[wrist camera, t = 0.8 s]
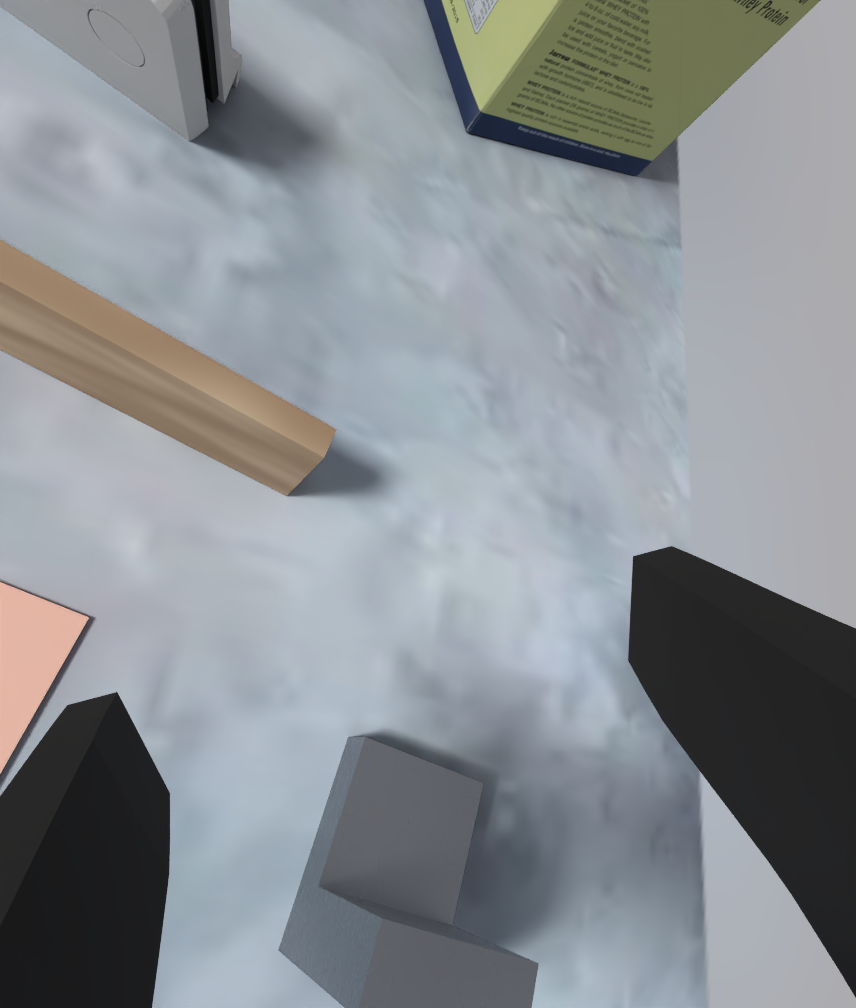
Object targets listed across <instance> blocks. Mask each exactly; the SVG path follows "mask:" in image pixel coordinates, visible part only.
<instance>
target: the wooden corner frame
mask: <svg viewBox="0 0 856 1008" xmlns="http://www.w3.org/2000/svg"><path fill="white" fill-rule="evenodd" d="M0 350H2V351H4V352H6V353H8V354H9V355H11V356H13V357H15V358H17V359H19V360H21V361H23V362H25V363H27V364H29V365H31V366H33V367H35V368H37V369H39V370H41V371H43V372H45V373H47V374H49V375H51V376H53V377H55V378H57V379H58V380H60V381H62V382H64V383H66V384H68V385H70V386H72V387H74V388H76V389H78V390H80V391H82V392H84V393H86V394H88V395H90V396H92V397H94V398H96V399H98V400H100V401H102V402H104V403H105V404H107V405H109V406H111V407H113V408H115V409H117V410H119V411H121V412H123V413H125V414H127V415H129V416H131V417H133V418H135V419H137V420H139V421H141V422H143V423H145V424H147V425H149V426H151V427H152V428H154V429H156V430H158V431H160V432H162V433H164V434H166V435H168V436H170V437H172V438H174V439H176V440H178V441H180V442H182V443H184V444H186V445H188V446H190V447H192V448H194V449H196V450H198V451H200V452H201V453H203V454H205V455H207V456H209V457H211V458H213V459H215V460H217V461H219V462H221V463H223V464H225V465H227V466H229V467H231V468H233V469H235V470H237V471H239V472H241V473H243V474H245V475H247V476H248V477H250V478H252V479H254V480H256V481H258V482H260V483H262V484H264V485H266V486H268V487H270V488H272V489H274V490H276V491H278V492H280V493H282V494H284V495H286V496H287V495H288V494H289V493H290V492H291V491H292V490H293V489H294V488H295V487H296V486H297V485H298V484H299V483H300V482H301V481H302V480H303V479H304V478H305V477H306V476H307V475H308V474H309V473H310V472H311V471H312V470H313V469H314V468H315V467H316V466H317V465H318V464H319V463H320V462H321V461H322V460H323V459H324V457H325V455H326V453H327V450H328V448H329V446H330V443H331V441H332V439H333V437H334V434H335V432H336V430H337V429H335V428H333V427H331V426H330V425H328V424H326V423H324V422H322V421H321V420H319V419H317V418H315V417H314V416H312V415H310V414H308V413H307V412H305V411H303V410H301V409H299V408H298V407H296V406H294V405H292V404H291V403H289V402H287V401H285V400H283V399H282V398H280V397H278V396H276V395H275V394H273V393H271V392H269V391H268V390H266V389H264V388H262V387H260V386H259V385H257V384H255V383H253V382H252V381H250V380H248V379H246V378H244V377H243V376H241V375H239V374H237V373H236V372H234V371H232V370H230V369H229V368H227V367H225V366H223V365H221V364H220V363H218V362H216V361H214V360H213V359H211V358H209V357H207V356H205V355H204V354H202V353H200V352H198V351H197V350H195V349H193V348H191V347H190V346H188V345H186V344H184V343H182V342H181V341H179V340H177V339H175V338H174V337H172V336H170V335H168V334H166V333H165V332H163V331H161V330H159V329H158V328H156V327H154V326H152V325H151V324H149V323H147V322H145V321H143V320H142V319H140V318H138V317H136V316H135V315H133V314H131V313H129V312H127V311H126V310H124V309H122V308H120V307H119V306H117V305H115V304H113V303H112V302H110V301H108V300H106V299H104V298H103V297H101V296H99V295H97V294H96V293H94V292H92V291H90V290H88V289H87V288H85V287H83V286H81V285H80V284H78V283H76V282H74V281H73V280H71V279H69V278H67V277H65V276H64V275H62V274H60V273H58V272H57V271H55V270H53V269H51V268H49V267H48V266H46V265H44V264H42V263H41V262H39V261H37V260H35V259H34V258H32V257H30V256H28V255H26V254H25V253H23V252H21V251H19V250H18V249H16V248H14V247H12V246H10V245H9V244H7V243H5V242H3V241H2V240H0Z"/></svg>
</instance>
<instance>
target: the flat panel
mask: <svg viewBox="0 0 856 1008" xmlns="http://www.w3.org/2000/svg"><path fill="white" fill-rule="evenodd" d="M88 619H89V617H87V616H84V615H82V614H79V613H77V612H74V611H72V610H69V609H67V608H64V607H62V606H59V605H57V604H54V603H52V602H49V601H46V600H44V599H41V598H39V597H36V596H34V595H31V594H29V593H26V592H24V591H21V590H19V589H16V588H14V587H11V586H9V585H6V584H4V583H1V582H0V774H1V772H2V770H3V768H4V767H5V765H6V763H7V761H8V760H9V758H10V756H11V754H12V753H13V751H14V749H15V747H16V745H17V744H18V742H19V740H20V738H21V737H22V735H23V733H24V731H25V730H26V728H27V726H28V724H29V723H30V721H31V719H32V717H33V716H34V714H35V712H36V710H37V709H38V707H39V705H40V703H41V702H42V700H43V698H44V696H45V694H46V693H47V691H48V689H49V687H50V686H51V684H52V682H53V680H54V679H55V677H56V675H57V673H58V672H59V670H60V668H61V666H62V665H63V663H64V661H65V659H66V658H67V656H68V654H69V652H70V651H71V649H72V647H73V645H74V643H75V642H76V640H77V638H78V636H79V635H80V633H81V631H82V629H83V628H84V626H85V624H86V622H87V621H88Z"/></svg>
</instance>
